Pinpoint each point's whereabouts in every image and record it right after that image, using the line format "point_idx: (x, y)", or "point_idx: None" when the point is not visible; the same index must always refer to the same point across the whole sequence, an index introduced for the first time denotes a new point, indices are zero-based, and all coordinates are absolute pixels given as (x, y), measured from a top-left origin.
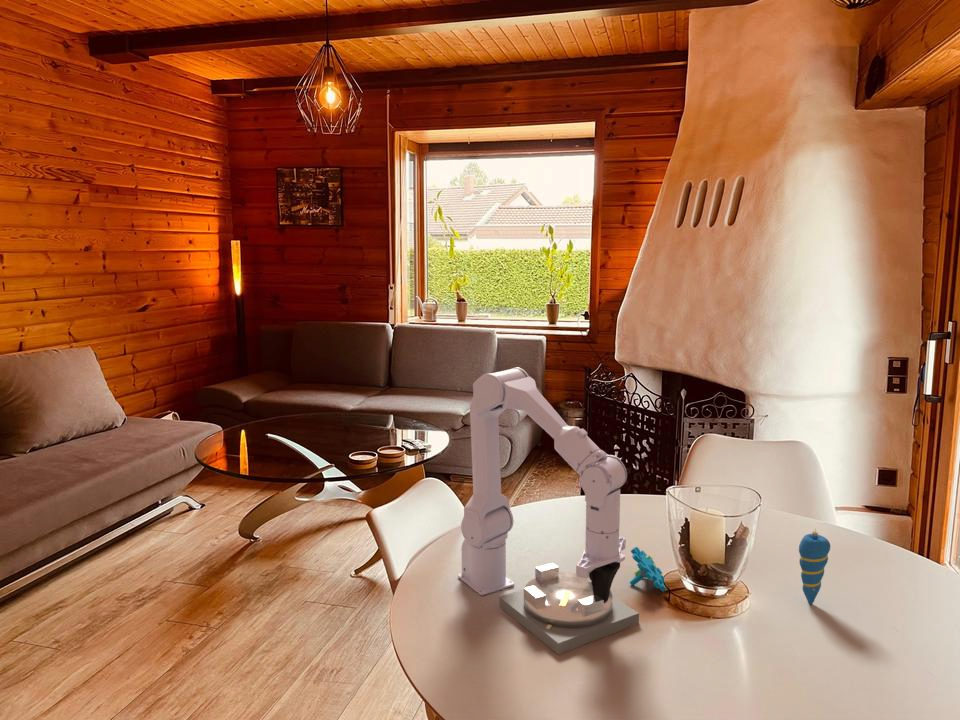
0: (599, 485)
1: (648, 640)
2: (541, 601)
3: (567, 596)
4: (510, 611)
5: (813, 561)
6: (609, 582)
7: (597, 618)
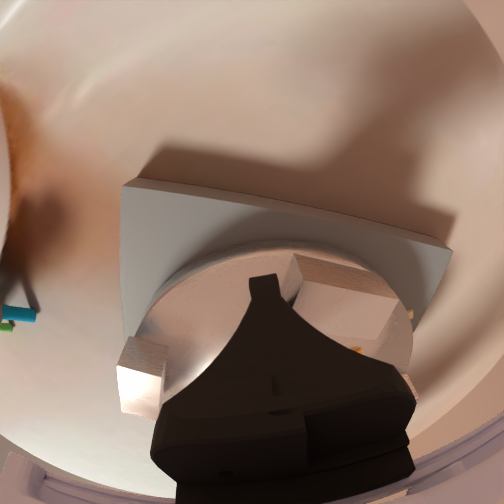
0: None
1: (196, 89)
2: None
3: None
4: None
5: None
6: (292, 334)
7: (315, 248)
